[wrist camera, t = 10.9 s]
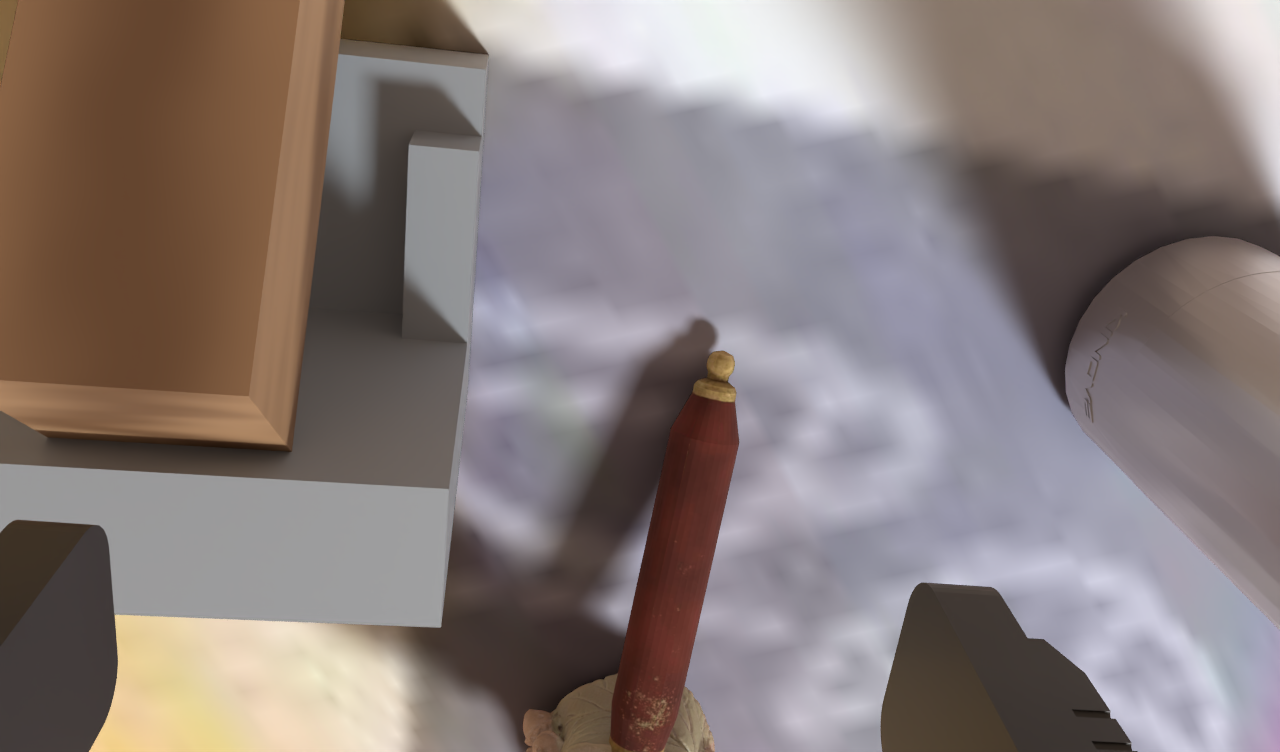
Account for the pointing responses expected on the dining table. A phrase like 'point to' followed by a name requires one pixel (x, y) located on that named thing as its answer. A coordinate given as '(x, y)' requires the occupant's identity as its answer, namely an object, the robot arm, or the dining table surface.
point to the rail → (162, 215)
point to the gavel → (676, 563)
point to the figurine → (606, 723)
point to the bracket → (319, 393)
